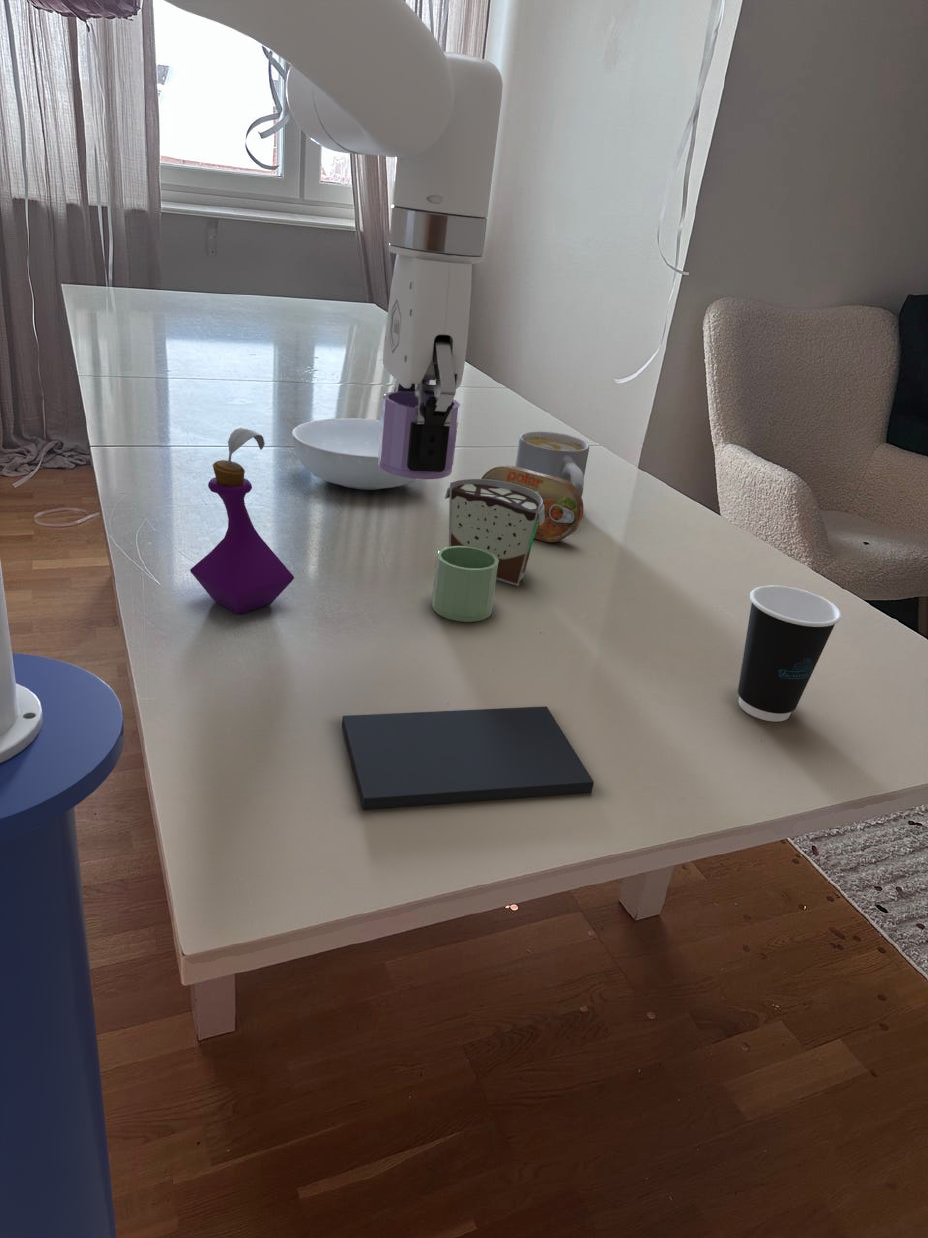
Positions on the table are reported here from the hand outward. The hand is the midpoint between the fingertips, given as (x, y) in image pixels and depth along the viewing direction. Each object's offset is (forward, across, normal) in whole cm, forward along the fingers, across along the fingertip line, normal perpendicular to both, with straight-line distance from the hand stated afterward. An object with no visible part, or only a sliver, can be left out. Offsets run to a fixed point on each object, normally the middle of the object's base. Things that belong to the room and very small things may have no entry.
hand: (416, 455), depth 78 cm
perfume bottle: (+20, -11, -14) cm, 27 cm away
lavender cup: (+1, 0, 0) cm, 1 cm away
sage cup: (+19, -9, +9) cm, 23 cm away
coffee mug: (+19, -39, +30) cm, 53 cm away
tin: (+19, -32, +24) cm, 44 cm away
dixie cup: (+19, +14, +33) cm, 40 cm away
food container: (+19, -20, +16) cm, 32 cm away
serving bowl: (+19, -52, +6) cm, 56 cm away
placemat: (+19, +18, +2) cm, 27 cm away
